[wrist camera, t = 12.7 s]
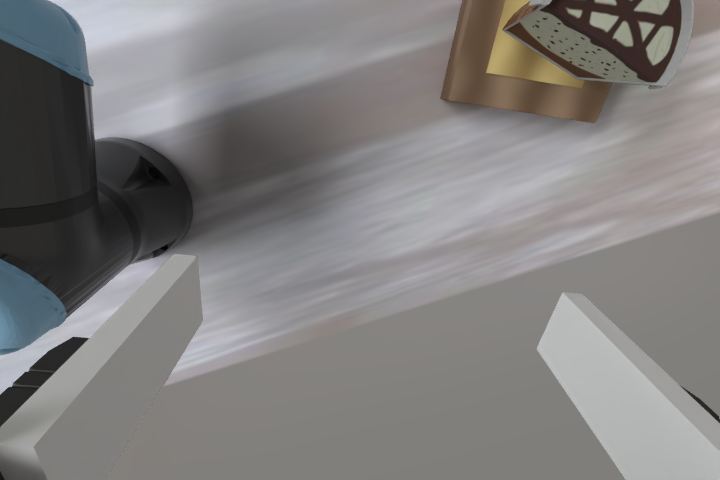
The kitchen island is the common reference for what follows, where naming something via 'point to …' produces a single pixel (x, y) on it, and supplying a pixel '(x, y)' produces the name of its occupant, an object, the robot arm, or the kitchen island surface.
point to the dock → (512, 69)
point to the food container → (608, 37)
